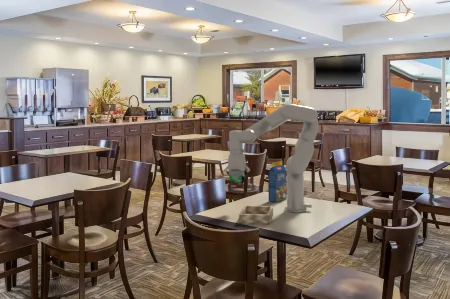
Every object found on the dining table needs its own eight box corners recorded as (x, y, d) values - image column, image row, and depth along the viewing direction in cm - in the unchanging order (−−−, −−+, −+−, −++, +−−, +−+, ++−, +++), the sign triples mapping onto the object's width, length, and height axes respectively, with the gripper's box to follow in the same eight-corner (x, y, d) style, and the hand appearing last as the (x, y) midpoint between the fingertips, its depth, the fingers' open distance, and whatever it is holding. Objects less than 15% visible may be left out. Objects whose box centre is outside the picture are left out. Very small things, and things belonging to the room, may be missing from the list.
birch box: (273, 214, 242) (272, 206, 242) (269, 224, 223) (269, 215, 222) (244, 214, 245) (244, 205, 245) (239, 223, 226) (239, 214, 225)
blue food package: (268, 201, 276) (267, 162, 273) (278, 198, 285) (278, 160, 282) (276, 202, 272) (276, 163, 269) (286, 199, 281) (286, 160, 278)
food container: (239, 189, 244) (238, 171, 243) (229, 188, 247) (228, 171, 246) (248, 184, 254) (247, 168, 253) (239, 184, 257) (238, 167, 256)
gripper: (252, 150, 251) (253, 181, 252) (222, 151, 254) (224, 181, 256) (250, 152, 243) (251, 184, 245) (220, 152, 247) (221, 184, 248)
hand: (237, 182), depth 250 cm, fingers closed on food container, 5 cm apart
